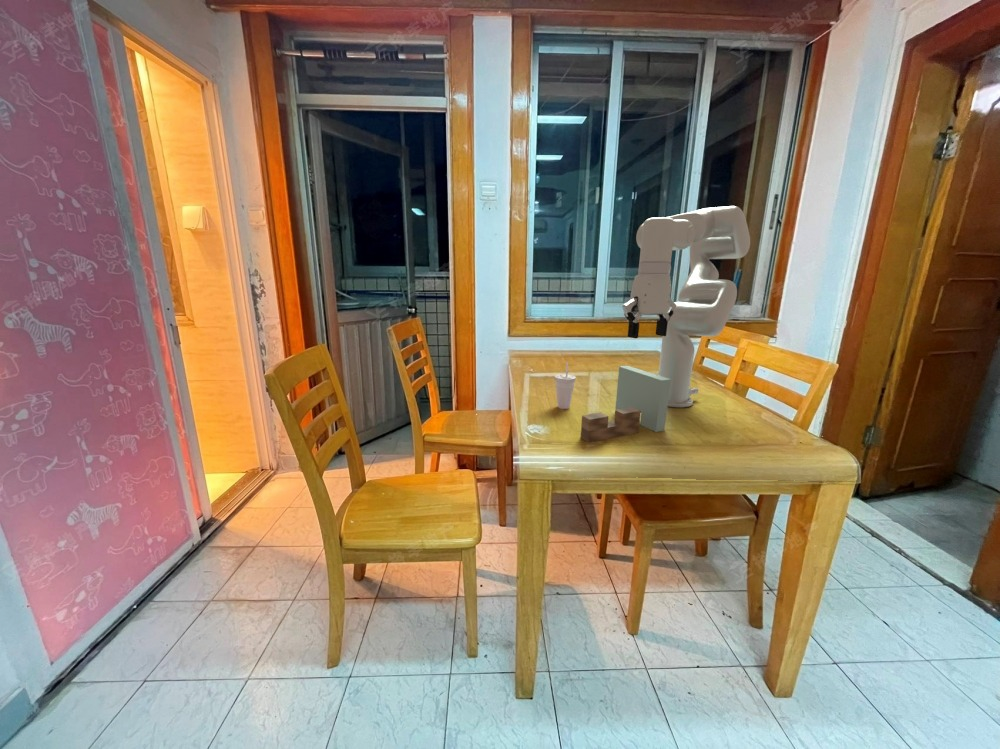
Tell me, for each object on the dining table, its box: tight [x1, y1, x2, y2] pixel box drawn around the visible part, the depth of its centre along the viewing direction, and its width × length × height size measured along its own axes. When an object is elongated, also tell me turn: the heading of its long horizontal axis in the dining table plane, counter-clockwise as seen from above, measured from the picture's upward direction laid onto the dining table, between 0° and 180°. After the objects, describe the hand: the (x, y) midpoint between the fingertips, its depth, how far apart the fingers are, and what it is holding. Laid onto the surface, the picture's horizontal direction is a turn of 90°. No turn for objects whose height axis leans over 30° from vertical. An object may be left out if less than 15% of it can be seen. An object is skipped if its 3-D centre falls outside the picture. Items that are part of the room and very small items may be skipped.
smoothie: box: [554, 362, 577, 410], centre depth 122 cm, size 6×6×14 cm
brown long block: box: [580, 407, 641, 443], centre depth 102 cm, size 16×3×6 cm, turn 114°
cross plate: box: [614, 365, 671, 433], centre depth 111 cm, size 16×3×14 cm, turn 24°
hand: (646, 336), depth 107 cm, fingers open, 9 cm apart
